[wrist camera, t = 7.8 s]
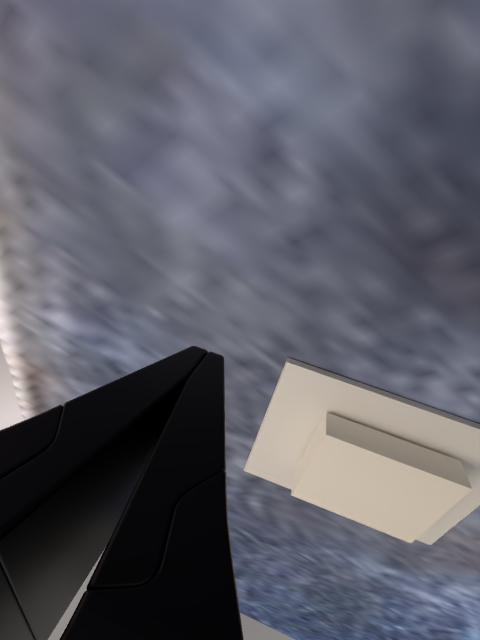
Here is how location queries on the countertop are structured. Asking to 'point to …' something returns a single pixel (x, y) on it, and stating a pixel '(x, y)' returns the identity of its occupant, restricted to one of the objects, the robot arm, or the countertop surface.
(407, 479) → the tile
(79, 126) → the countertop surface
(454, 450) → the beige board
